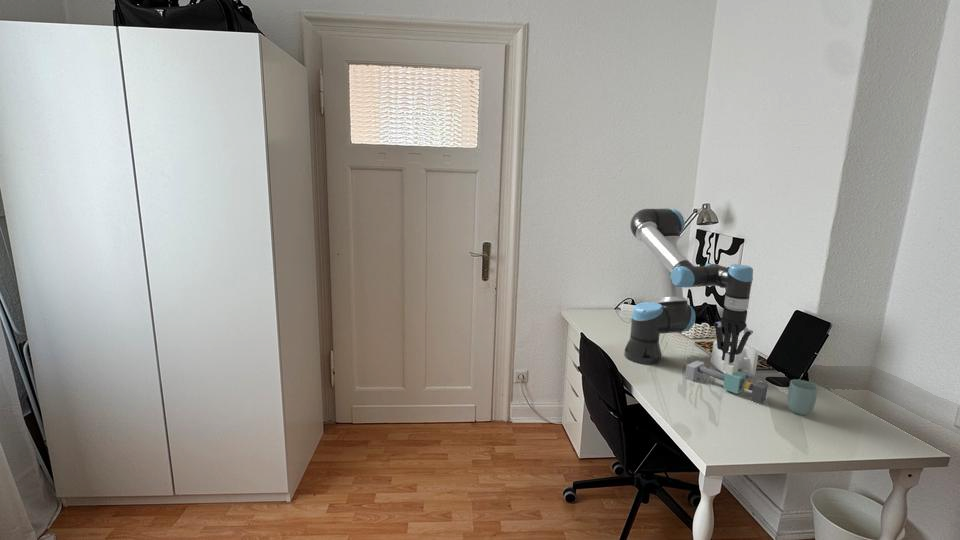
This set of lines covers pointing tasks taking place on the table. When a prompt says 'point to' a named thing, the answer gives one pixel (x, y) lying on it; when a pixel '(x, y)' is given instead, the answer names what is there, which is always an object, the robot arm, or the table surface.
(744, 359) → the cable organizer
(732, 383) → the sleeve
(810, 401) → the cup
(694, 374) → the grey slab
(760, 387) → the block
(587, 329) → the table surface
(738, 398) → the table surface
